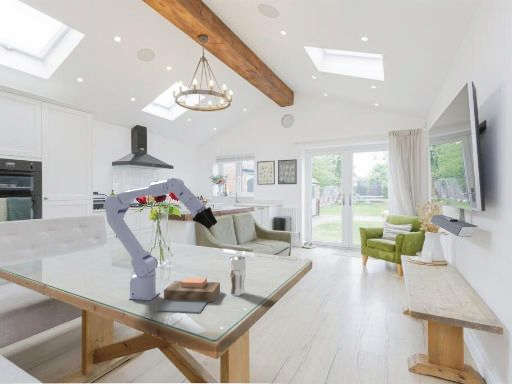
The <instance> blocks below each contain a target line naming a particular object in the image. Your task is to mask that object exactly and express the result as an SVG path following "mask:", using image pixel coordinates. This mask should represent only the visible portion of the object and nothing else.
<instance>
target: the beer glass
mask: <svg viewBox="0 0 512 384" xmlns="http://www.w3.org/2000/svg"><path fill="white" fill-rule="evenodd" d="M228 267H229V276H230V284H231V289H230V295H231V296H234V297H240V296H244V295H245V294H246V290H245V281H246V280H245V279H246V272H247V262H246V256H241V255H237V256H236V255H234V256H231V257H229V266H228Z"/></svg>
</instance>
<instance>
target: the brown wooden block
mask: <svg viewBox="0 0 512 384" xmlns="http://www.w3.org/2000/svg"><path fill="white" fill-rule="evenodd" d="M182 281H183V280H175V281H174V282H173V283H171V284H170V285H168V286H167V287H166V288H165V289H163V300H164V301H167V300H168V299H180V300H204V301H208V303H214V302H215V299H216V298H217V297H218V296H219V294H220V293H221V282H214V281H213V282H212V281H211V282H210V281H207V283H206V284H205V285H204V287H203V288H194V287H181V282H182Z"/></svg>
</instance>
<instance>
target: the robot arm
mask: <svg viewBox="0 0 512 384" xmlns="http://www.w3.org/2000/svg"><path fill="white" fill-rule="evenodd" d="M171 193H173V194H174V196H175V197H176V198H177V199H178V200H179V201H180V202H181V203H182V204H183V205H184V207H186V209H187V210H188V211H189V214H190V215H191V216H192V217H193V218H192V221H193V222H196V223H199V224H200V225H202V226H203V227H205V228H206V229H208V230H210V229H211V228H212V227H213V226H215V225H216V224H217V223H218V220H217V219H216V217H215V215H214V214H213V211H212V208H211V206H208V207H207V206H206V204H207V203H206V202H203V203H202V202H201V200H200V199H199V198H197V196H196V195H195V194H194V193H193V192H192V191H191V190H190V189H189V188H188V187H187V185H185V183H184V181H183V180H182V179H181V178H174V177H172V178H165V180H161V181H158V180H153V182H152V183H150V184H149V186H147V187H144V188H143V187H141V188H137V189H131V190H127V191H122V192H118V193H115V194H114V195H110V196H107V197H106V198H105V200H104V203H103V206H102V208H103V209H104V211H105V215H106V222H107V224H108V225H109V227H110V229H112V231H113V232H114V234H115V235H116V237H117V239H118V240H119V241H120V242H121V243H122V246H123V247H124V248H125V250H126V251H127V253H128V254H129V255H130V257H131V261H130V263H131V264H130V265H132V267H133V272H134V274H133V275H132V276H131V277H130V280H129V297H128V299H129V300H141V301H151V300H152V299H154V298H155V297H156V296H158V295H159V294H161V293H160V291H157V287H156V285H157V283H156V281H157V280H156V279H157V278H156V269H157V268H158V266H159V262H158V259H157V258H156V257H155V256H154V255H152V254H151V253H150V252H149V251H147V250H145V249H144V248H143V246H142V244H141V243H140V242H139V241H138V239H137V238H136V236H135V235H134V233H133V232H132V230H131V228H130V227H129V225H127V223H126V222H125V220H124V218H125V214H126V213H127V211H128V210H129V208H130V207H131V204H132V203H134V202H135V201H134V200H135V199H137V198H142V197H146V196H149V195H151V196H153V197H160V196H164V195H165V196H166V195H169V194H171Z"/></svg>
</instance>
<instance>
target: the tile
mask: <svg viewBox="0 0 512 384" xmlns="http://www.w3.org/2000/svg"><path fill="white" fill-rule="evenodd" d="M207 280H208V279H207V277H185V278H184V279H183V280H181V281H182V282H181V287H194V288H203V287H204V285H205V284H206V283H207V282H208V281H207Z"/></svg>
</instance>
